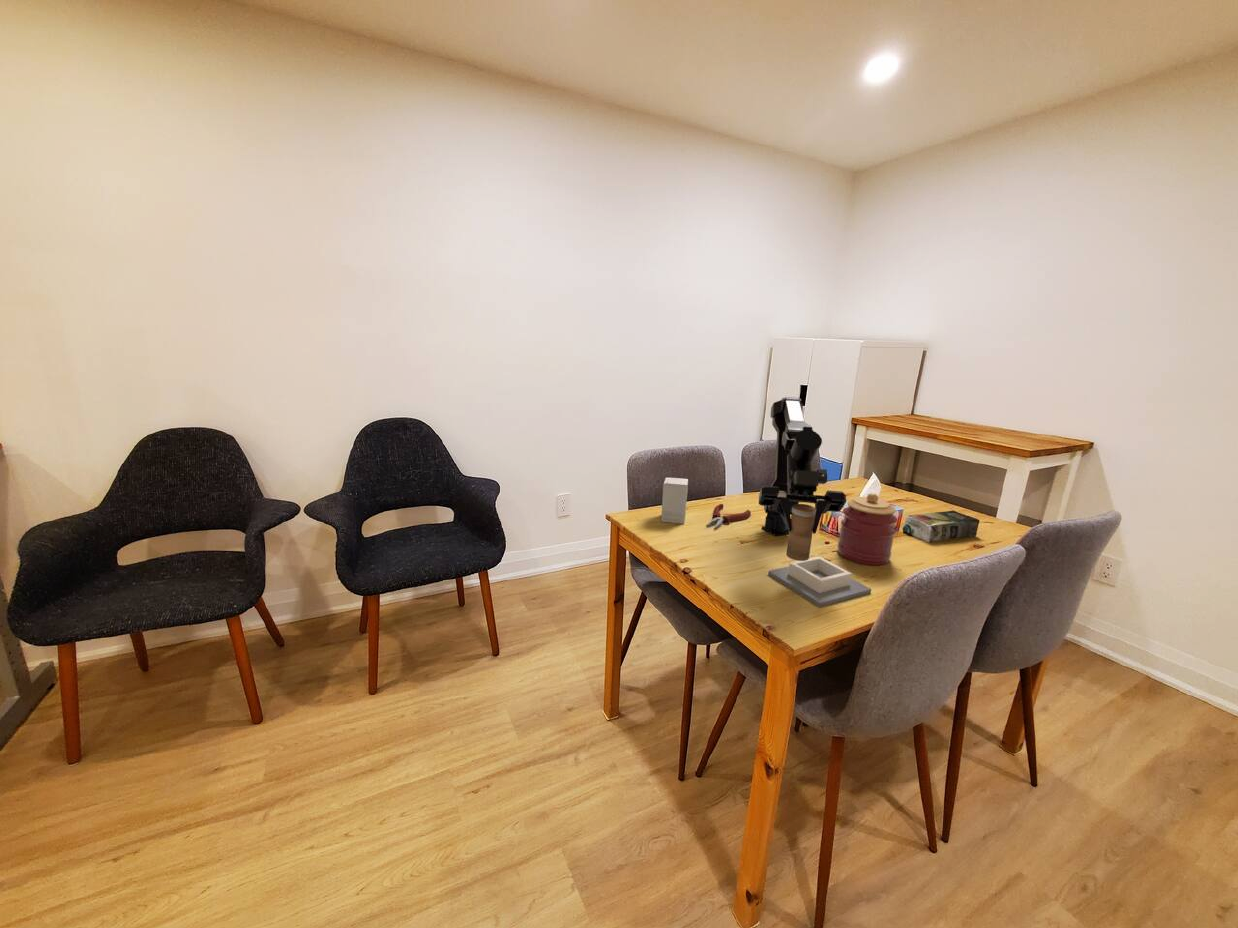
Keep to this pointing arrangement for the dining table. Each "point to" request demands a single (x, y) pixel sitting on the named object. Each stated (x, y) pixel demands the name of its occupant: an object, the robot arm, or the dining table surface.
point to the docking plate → (819, 581)
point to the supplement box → (674, 500)
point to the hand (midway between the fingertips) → (802, 531)
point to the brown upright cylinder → (801, 532)
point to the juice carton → (941, 526)
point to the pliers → (726, 517)
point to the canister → (867, 530)
